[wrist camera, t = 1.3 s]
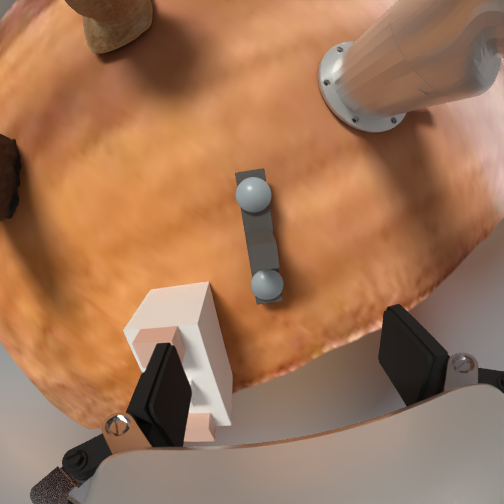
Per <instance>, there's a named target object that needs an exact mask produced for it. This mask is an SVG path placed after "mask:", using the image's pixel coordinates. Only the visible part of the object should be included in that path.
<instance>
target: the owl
mask: <svg viewBox="0 0 504 504" xmlns="http://www.w3.org/2000/svg"><path fill="white" fill-rule="evenodd" d="M15 141H16V140H15V139H12V140H11V139H10V138H8V137H6V136H4V135H2V134H0V221H1V220H2V219H3V218H8V219H11V218H12V216H13V213H14V212H15V209H16V207H17V206H18V202H19V196H18V187H19V185H20V180H19V170H20V169H21V162H20V155H19V153H18V151H17V148H16V142H15Z"/></svg>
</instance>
